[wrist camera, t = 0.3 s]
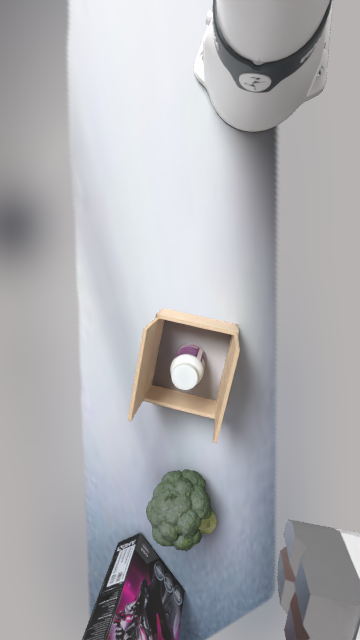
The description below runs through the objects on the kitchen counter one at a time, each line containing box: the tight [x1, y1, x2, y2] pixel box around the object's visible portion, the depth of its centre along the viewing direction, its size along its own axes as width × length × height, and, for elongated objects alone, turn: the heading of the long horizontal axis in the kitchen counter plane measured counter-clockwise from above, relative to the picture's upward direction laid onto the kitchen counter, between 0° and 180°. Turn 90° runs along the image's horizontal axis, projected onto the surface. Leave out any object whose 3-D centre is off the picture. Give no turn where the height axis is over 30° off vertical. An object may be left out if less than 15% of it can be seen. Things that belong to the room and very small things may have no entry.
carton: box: [128, 308, 240, 444], centre depth 49 cm, size 15×13×13 cm
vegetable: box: [146, 470, 217, 551], centre depth 56 cm, size 12×13×15 cm
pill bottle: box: [170, 343, 206, 390], centre depth 50 cm, size 5×5×10 cm
